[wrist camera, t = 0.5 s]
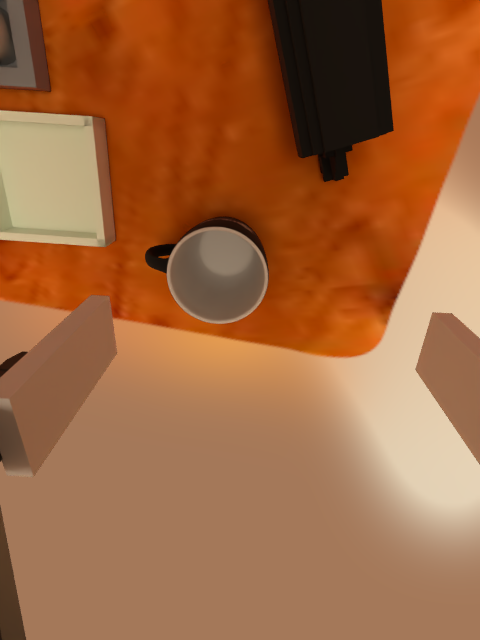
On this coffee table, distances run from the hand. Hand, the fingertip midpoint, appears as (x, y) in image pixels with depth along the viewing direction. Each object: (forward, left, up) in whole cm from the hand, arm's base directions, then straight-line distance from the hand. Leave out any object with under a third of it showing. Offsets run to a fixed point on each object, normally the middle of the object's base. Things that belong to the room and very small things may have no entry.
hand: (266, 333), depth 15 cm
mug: (+4, -5, -27) cm, 27 cm away
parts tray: (-2, -22, -27) cm, 35 cm away
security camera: (-13, +4, -27) cm, 30 cm away
